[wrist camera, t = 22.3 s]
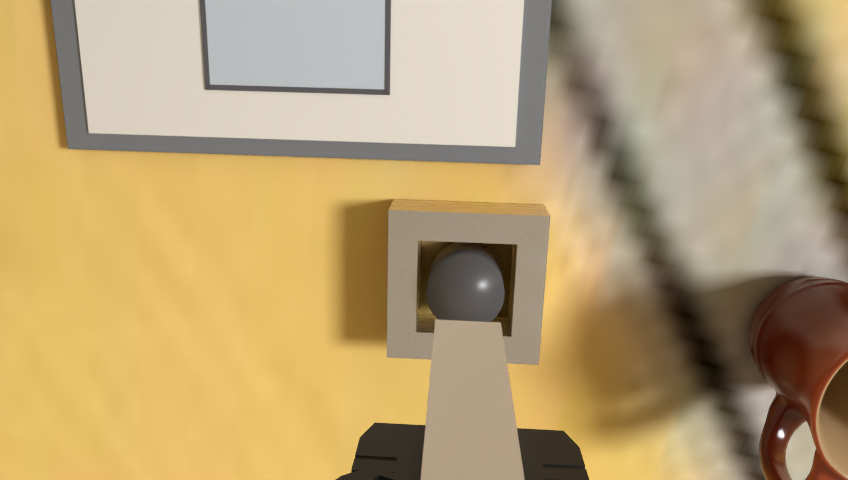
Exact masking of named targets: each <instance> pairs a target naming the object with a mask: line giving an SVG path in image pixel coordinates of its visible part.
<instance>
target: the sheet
mask: <svg viewBox="0 0 848 480" xmlns="http://www.w3.org/2000/svg"><path fill="white" fill-rule="evenodd" d="M551 5H552V0H51V7H52V16H53V24H54V33H55V41H56V50H57V58H58V67H59V76H60V84H61V93H62V101H63V110H64V118H65V127H66V135H67V144H68V149H88V150H117V151H147V152H176V153H206V154H235V155H265V156H294V157H324V158H353V159H383V160H412V161H442V162H471V163H501V164H530V165H540V158H541V144H542V130H543V116H544V102H545V88H546V74H547V60H548V46H549V32H550V19H551Z"/></svg>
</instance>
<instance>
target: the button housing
mask: <svg viewBox="0 0 848 480" xmlns="http://www.w3.org/2000/svg"><path fill="white" fill-rule="evenodd" d="M549 225H550V215H549V213H548V211H547V209H546V207H545V206H544V205H539V204H512V203H485V202H458V201H431V200H404V199H394V200H393V202H392V204H391V206H390V208H389V210H388V291H387V357H390V358H411V359H431V360H432V350H433V339H434V328H435V320H438V319H437V318H436V317H435V316H434V314H422V313H419V302H420V261H421V241H443V242H468V243H493V244H513V250H512V266H511V282H510V297H509V313H508V317H495V318H494V319H493V320H492V321H491V322H499V323H501V327H502V334H503V340H504V347H505V354H506V360H507V363H512V364H533V365H539V354H540V341H541V329H542V316H543V303H544V290H545V277H546V264H547V251H548V238H549Z"/></svg>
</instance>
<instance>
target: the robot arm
mask: <svg viewBox="0 0 848 480" xmlns="http://www.w3.org/2000/svg"><path fill="white" fill-rule="evenodd" d="M336 480H589V478H588V474H587V471H586V469H585V464H584V461H583V458H582V454H581V451H580V448H579V447H578V445H577V444H576V443H575V442H574V441H573V440H572V439H571V438H570V437H569V436H568V435H567V434H566V433H565V432H564V431H556V430H537V429H519V428H517V426H516V419H515V413H514V406H513V400H512V393H511V386H510V380H509V373H508V367H507V360H506V354H505V347H504V340H503V334H502V327H501V323H499V322H478V321H456V320H435V328H434V339H433V350H432V361H431V372H430V383H429V394H428V404H427V415H426V425H408V424H389V423H374V424H373V425H372V426H371V427H370V428H369V429H368V430H367V431H366V432H365V433H364V434H363V435H362V436H361V437H360V439H359V443H358V447H357V451H356V455H355V459H354V462H353V466H352V471H351V473H349V474H346V475H343V476H341V477H339V478H338V479H336Z"/></svg>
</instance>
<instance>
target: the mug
mask: <svg viewBox="0 0 848 480" xmlns="http://www.w3.org/2000/svg"><path fill="white" fill-rule="evenodd" d="M749 343H750V348H751V352H752V355H753V358H754V361H755V363H756V365H757V367H758V369H759V371H760V372H761V373H762V375H763V377H764V379H765V380H766V381H767V382H768V383H769V384H770V385H771V386H772V387H773V388H774V389H775V391H776V396H775V398H774V400H773V401H772V403H771V405H770V408H769V411H768V414H767V418H766V422H765V425H764V428H763V431H762V435H761V439H760V444H759V458H760V464H761V468H762V471H763V474H764V477H765V479H766V480H792V479H791V477H790V475H789V473H788V470H787V466H786V458H785V457H786V448H787V444H788V442H789V440H790V438H791V436H792V434H793V433H794V432H795V430H796V429H797V428H798V427H799V426H800V425H801V424H803V423H804V422H805V421H807V423H808V425H809V428H810V431H811V434H812V437H813V441H814V444H815V446H816V451H815V455H814V460H813V465H812V469H811V471H810V473H809V475H808V476H807V478H806V479H805V480H848V283H846V282H843V281H840V280H835V279H829V278H823V277H808V278H802V279H798V280H794V281H791V282H789V283H787V284H784V285H782V286H781V287H779V288H777V289H776V290H774V291H773V292H772V293H771V294H769V295H768V296H767V297H766V298H765V299H764V300H763V302H762V303H761V304H760V305H759V307H758V308H757V310H756V312H755V314H754V316H753V318H752V321H751V325H750V330H749Z"/></svg>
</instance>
